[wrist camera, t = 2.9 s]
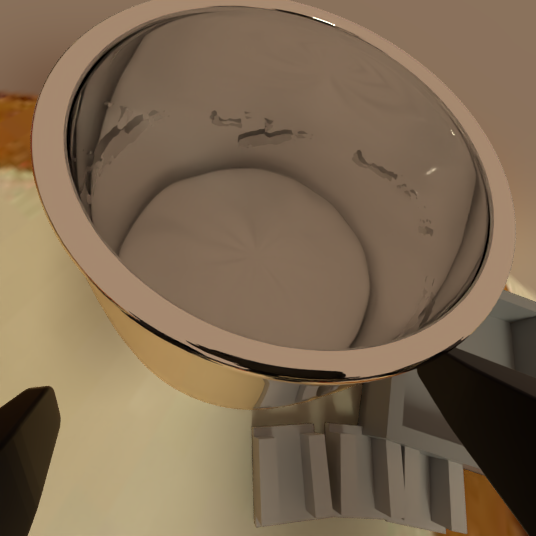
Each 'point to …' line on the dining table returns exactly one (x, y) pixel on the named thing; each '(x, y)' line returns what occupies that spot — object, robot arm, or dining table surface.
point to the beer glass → (269, 198)
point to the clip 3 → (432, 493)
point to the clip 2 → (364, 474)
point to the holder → (421, 403)
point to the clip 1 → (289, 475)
